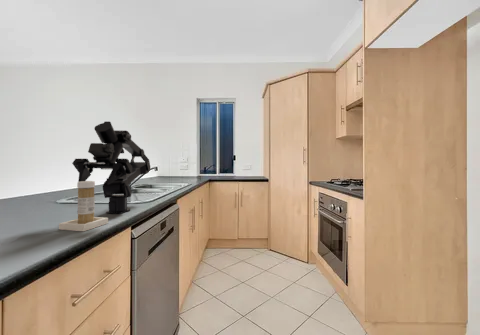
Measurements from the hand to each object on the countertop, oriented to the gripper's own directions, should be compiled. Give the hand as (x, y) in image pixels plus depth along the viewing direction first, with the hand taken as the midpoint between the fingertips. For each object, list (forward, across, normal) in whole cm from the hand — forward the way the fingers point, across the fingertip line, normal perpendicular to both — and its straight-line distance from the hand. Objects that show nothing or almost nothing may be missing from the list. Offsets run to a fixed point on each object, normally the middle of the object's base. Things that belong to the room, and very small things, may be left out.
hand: (93, 183), depth 74 cm
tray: (+12, 0, +6) cm, 14 cm away
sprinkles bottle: (+12, 0, +6) cm, 13 cm away
